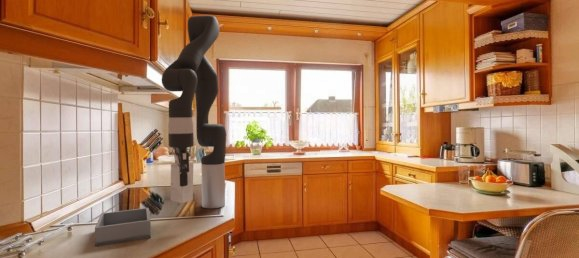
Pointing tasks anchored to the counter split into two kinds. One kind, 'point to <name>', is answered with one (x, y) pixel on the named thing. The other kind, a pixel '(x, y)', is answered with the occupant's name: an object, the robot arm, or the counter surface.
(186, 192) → the skincare box
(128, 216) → the bin
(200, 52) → the robot arm
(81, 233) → the counter surface
